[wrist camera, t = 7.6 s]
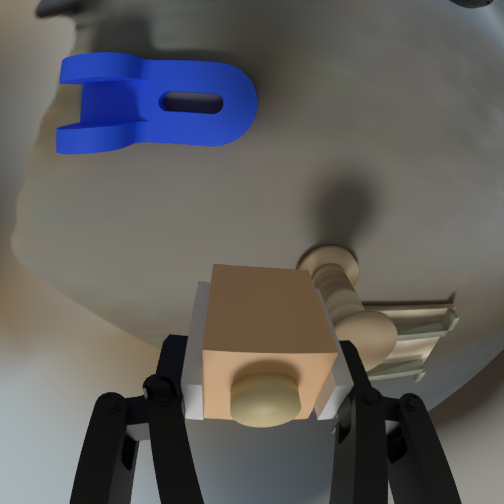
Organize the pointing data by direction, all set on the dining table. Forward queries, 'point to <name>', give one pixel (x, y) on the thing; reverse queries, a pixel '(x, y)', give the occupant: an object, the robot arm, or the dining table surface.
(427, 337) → the board
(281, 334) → the tab
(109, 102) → the bracket
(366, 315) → the bobbin
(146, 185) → the dining table surface
